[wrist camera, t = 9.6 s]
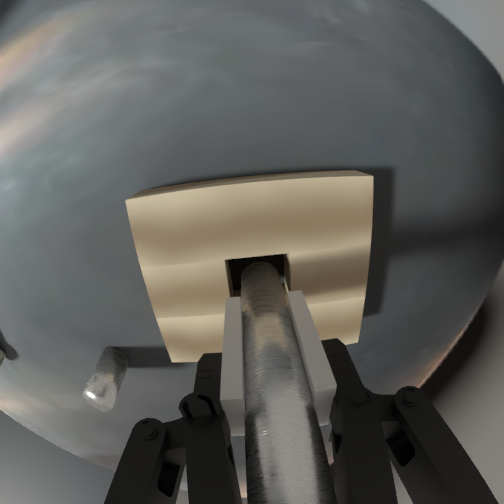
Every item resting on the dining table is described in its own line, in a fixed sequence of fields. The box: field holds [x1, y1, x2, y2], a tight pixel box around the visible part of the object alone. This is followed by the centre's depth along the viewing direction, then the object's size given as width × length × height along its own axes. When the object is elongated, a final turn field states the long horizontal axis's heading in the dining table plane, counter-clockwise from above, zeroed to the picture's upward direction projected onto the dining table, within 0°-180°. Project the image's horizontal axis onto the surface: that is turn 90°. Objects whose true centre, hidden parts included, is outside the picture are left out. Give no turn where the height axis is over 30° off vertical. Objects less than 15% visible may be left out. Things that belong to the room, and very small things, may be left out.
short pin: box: [83, 347, 130, 411], centre depth 21 cm, size 3×3×6 cm
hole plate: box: [125, 170, 373, 362], centre depth 19 cm, size 13×15×3 cm
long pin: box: [241, 261, 338, 504], centre depth 11 cm, size 3×3×16 cm
